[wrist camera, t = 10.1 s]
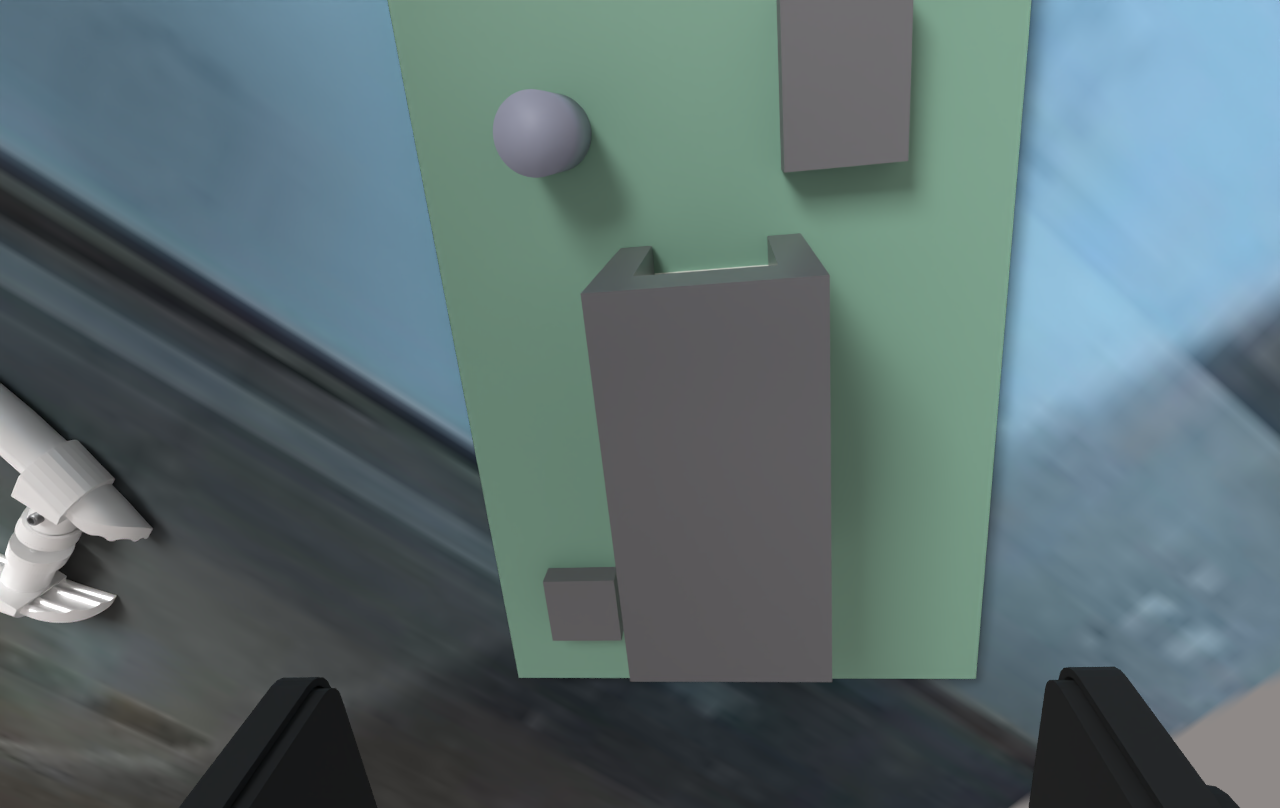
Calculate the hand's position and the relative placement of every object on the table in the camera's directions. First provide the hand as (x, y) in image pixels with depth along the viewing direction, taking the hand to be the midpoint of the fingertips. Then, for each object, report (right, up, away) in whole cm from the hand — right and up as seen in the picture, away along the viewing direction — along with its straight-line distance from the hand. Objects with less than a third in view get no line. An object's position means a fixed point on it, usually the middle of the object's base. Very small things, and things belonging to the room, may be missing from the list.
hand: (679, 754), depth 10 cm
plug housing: (+2, +5, +12) cm, 13 cm away
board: (+2, +7, +13) cm, 14 cm away
